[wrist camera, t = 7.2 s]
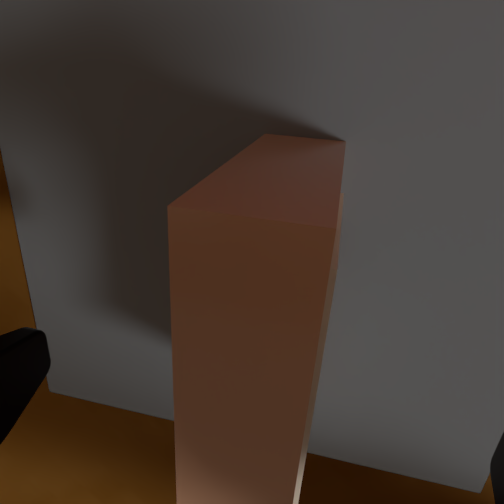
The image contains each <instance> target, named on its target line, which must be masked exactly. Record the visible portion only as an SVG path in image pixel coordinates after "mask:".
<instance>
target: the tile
mask: <svg viewBox="0 0 504 504" xmlns="http://www.w3.org/2000/svg"><path fill="white" fill-rule="evenodd" d="M345 147H346V141H336V140H326V139H315V138H305V137H295V136H284V135H274V134H264V135H263V136H261V137H260V138H259V139H257V140H256V141H255V142H253V143H252V144H250V145H249V146H248V147H246V148H245V149H244V150H242V151H241V152H240V153H238V154H237V155H236V156H234V157H233V158H232V159H230V160H229V161H227V162H226V163H225V164H223V165H222V166H221V167H219V168H218V169H217V170H215V171H214V172H213V173H211V174H210V175H208V176H207V177H206V178H204V179H203V180H202V181H200V182H199V183H198V184H196V185H195V186H194V187H192V188H191V189H189V190H188V191H187V192H185V193H184V194H183V195H181V196H180V197H179V198H177V199H176V200H175V201H173V202H172V203H170V204H169V205H168V206H167V211H168V243H169V275H170V306H171V338H172V369H173V401H174V432H175V464H176V496H177V504H298V502H299V496H300V490H301V484H302V478H303V472H304V466H305V460H306V454H307V448H308V443H309V437H310V431H311V425H312V419H313V413H314V407H315V401H316V395H317V389H318V383H319V377H320V371H321V365H322V359H323V353H324V347H325V341H326V335H327V329H328V323H329V317H330V311H331V305H332V299H333V293H334V287H335V281H336V275H337V268H338V256H339V244H340V232H341V221H342V209H343V197H344V193H340V192H341V183H342V174H343V165H344V156H345Z"/></svg>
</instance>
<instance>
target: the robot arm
mask: <svg viewBox="0 0 504 504" xmlns="http://www.w3.org/2000/svg"><path fill="white" fill-rule="evenodd" d="M50 366H51V358H50V353H49V347H48V342H47V337H46V334H45V333H44V332H43V331H42V330H38V329H33V328H28V327H24V328H20V329H17V330H15V331H12V332H9V333H6V334H3V335H0V444H1V443H2V442H3V440H4V439H5V438H6V436H7V435H8V433H9V432H10V430H11V429H12V427H13V426H14V424H15V423H16V421H17V420H18V418H19V417H20V415H21V414H22V412H23V411H24V409H25V407H26V406H27V404H28V403H29V401H30V400H31V398H32V397H33V395H34V394H35V392H36V390H37V389H38V387H39V386H40V384H41V383H42V381H43V380H44V378H45V377H46V375H47V373H48V371H49V369H50ZM490 474H491V480H492V486H493V492H494V498H495V504H504V432H503V434H502V436H501V438H500V440H499V443H498V445H497V447H496V449H495V452H494V454H493V456H492V459H491V463H490Z"/></svg>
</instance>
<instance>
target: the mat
mask: <svg viewBox="0 0 504 504" xmlns="http://www.w3.org/2000/svg"><path fill="white" fill-rule="evenodd" d="M264 134H274V135H284V136H295V137H305V138H315V139H326V140H336V141H346V147H345V156H344V165H343V174H342V183H341V192H340V193H344V197H343V209H342V221H341V232H340V244H339V256H338V268H337V275H336V281H335V287H334V293H333V299H332V305H331V311H330V317H329V323H328V329H327V335H326V341H325V347H324V353H323V359H322V365H321V371H320V377H319V383H318V389H317V395H316V401H315V407H314V413H313V419H312V425H311V431H310V437H309V443H308V448H307V453H311V454H316V455H320V456H324V457H328V458H332V459H337V460H341V461H345V462H349V463H354V464H358V465H362V466H366V467H371V468H375V469H379V470H383V471H387V472H392V473H396V474H400V475H404V476H409V477H413V478H417V479H421V480H425V481H430V482H434V483H438V484H442V485H447V486H451V487H455V488H459V489H463V490H468V491H472V492H476V493H481V491H482V489H483V486H484V484H485V482H486V480H487V478H488V476H489V473H490V463H491V459H492V456H493V454H494V452H495V449H496V447H497V445H498V443H499V440H500V438H501V436H502V434H503V432H504V0H0V149H1V154H2V159H3V164H4V169H5V173H6V178H7V183H8V188H9V193H10V198H11V203H12V208H13V213H14V218H15V223H16V228H17V233H18V238H19V243H20V248H21V253H22V258H23V263H24V268H25V272H26V277H27V282H28V287H29V292H30V297H31V302H32V307H33V312H34V317H35V322H36V327H37V329H38V330H42V331H43V332H44V333H45V334H46V337H47V342H48V347H49V353H50V358H51V366H50V369H49V371H48V373H47V375H46V376H47V381H48V386H49V391H50V392H54V393H58V394H62V395H66V396H71V397H75V398H79V399H83V400H88V401H92V402H96V403H100V404H104V405H109V406H113V407H117V408H121V409H126V410H130V411H134V412H138V413H142V414H147V415H151V416H155V417H159V418H164V419H168V420H172V421H174V401H173V369H172V338H171V306H170V275H169V243H168V211H167V206H168V205H169V204H170V203H172V202H173V201H175V200H176V199H177V198H179V197H180V196H181V195H183V194H184V193H185V192H187V191H188V190H189V189H191V188H192V187H194V186H195V185H196V184H198V183H199V182H200V181H202V180H203V179H204V178H206V177H207V176H208V175H210V174H211V173H213V172H214V171H215V170H217V169H218V168H219V167H221V166H222V165H223V164H225V163H226V162H227V161H229V160H230V159H232V158H233V157H234V156H236V155H237V154H238V153H240V152H241V151H242V150H244V149H245V148H246V147H248V146H249V145H250V144H252V143H253V142H255V141H256V140H257V139H259V138H260V137H261V136H263V135H264Z"/></svg>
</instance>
